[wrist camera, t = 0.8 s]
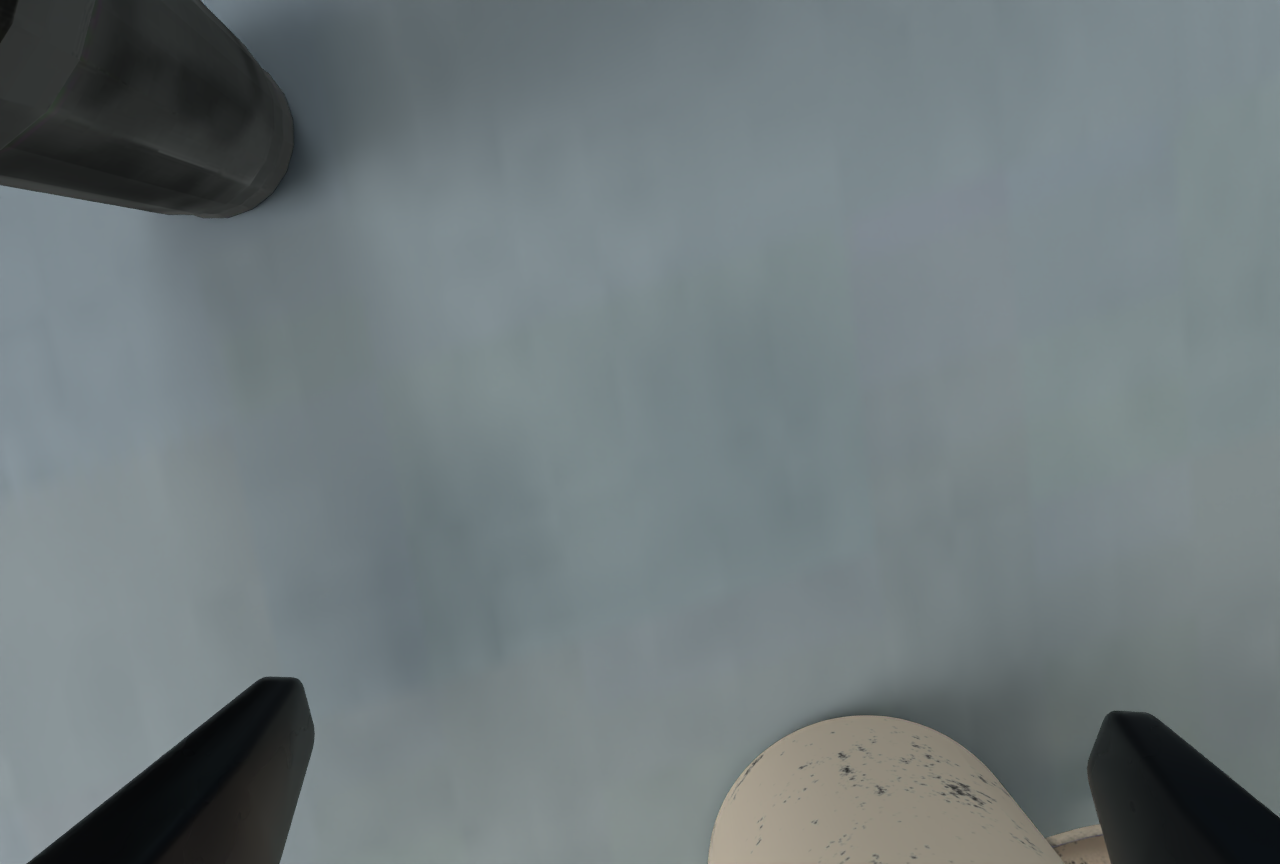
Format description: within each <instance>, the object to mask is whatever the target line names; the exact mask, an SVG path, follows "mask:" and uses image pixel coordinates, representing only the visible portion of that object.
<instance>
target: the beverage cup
mask: <svg viewBox="0 0 1280 864" xmlns="http://www.w3.org/2000/svg"><path fill="white" fill-rule="evenodd" d="M293 147H294V139H293V118H292V116H291V113H290V110H289V107H288V104H287V101H286V98H285V96H284V93H283V92H282V91H281V89H280V88H279V87H278V85H277V84H276V83H275V81H274V80H273V79H272V77H271V76H270V75H269V73H268V72H266V71H265V70H264V69H262V68H261V67H260V65H259V64H258V63H257V61H256V60H255V59H254V57H253V56H252V55H251V53H250V52H249V51H248V49H247V48H246V47H245V45H244V44H243V43H242V42H241V41H240V40H239V39H238V38H237V37H236V36H235V35H234V34H233V33H232V32H231V31H230V30H229V29H228V28H227V27H226V26H225V25H224V24H223V23H222V22H221V21H220V20H219V19H218V18H217V17H216V16H215V15H214V14H213V13H212V12H211V11H210V10H209V9H208V8H207V7H206V6H205V5H204V4H203V3H202V2H201V1H200V0H0V185H3V186H8V187H14V188H20V189H25V190H31V191H37V192H42V193H48V194H54V195H59V196H65V197H71V198H76V199H82V200H88V201H93V202H99V203H105V204H110V205H116V206H122V207H127V208H133V209H139V210H144V211H150V212H156V213H161V214H167V215H194V216H198V217H201V218H229V217H232V216H235V215H237V214H240V213H243V212H246V211H249V210H251V209H253V208H254V207H256V206H257V205H258V204H259V203H261V202H262V201H263V200H264V199H266V198H267V197H268V196H270V195H271V194H272V193H273V192H274V190H275V189H276V187H277V185H278V184H279V182H280V181H281V179H282V178H283V176H284V175H285V173H286V172H287V169H288V165H289V161H290V158H291V154H292V151H293Z"/></svg>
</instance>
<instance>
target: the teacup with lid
mask: <svg viewBox="0 0 1280 864" xmlns="http://www.w3.org/2000/svg"><path fill="white" fill-rule="evenodd" d="M708 864H1111V862H1110V859H1109V855H1108V851H1107V848H1106V844H1105V840H1104V837H1103V833H1102V829H1101V826H1100V824H1098V825H1092V826H1087V827H1083V828H1078V829H1074V830H1071V831H1067V832H1064V833H1060V834H1057V835H1054V836H1051V837H1048V838H1044V837H1043V835H1042V834H1041V833H1040V832H1039V830H1038V829H1037V828H1036V827H1035V825H1034V824H1033V823H1032V822H1031V820H1030V819H1029V818H1028V817H1027V815H1026V814H1025V813H1024V812H1023V810H1022V809H1021V808H1020V807H1019V805H1018V804H1017V803H1016V802H1015V800H1014V799H1013V798H1012V797H1011V796H1010V794H1009V793H1008V792H1007V791H1006V789H1005V788H1004V787H1003V786H1002V784H1001V783H1000V782H999V781H998V779H997V778H996V777H995V776H994V775H993V773H992V772H991V771H990V770H989V769H988V768H987V767H986V766H985V765H984V764H983V763H982V762H981V761H980V760H979V759H978V758H977V757H976V756H975V755H973V754H972V753H971V752H969V751H968V750H967V749H966V748H964V747H963V746H962V745H960V744H959V743H957V742H956V741H954V740H952V739H951V738H949V737H948V736H946V735H944V734H942V733H940V732H938V731H936V730H934V729H931V728H929V727H926V726H923V725H921V724H918V723H915V722H911V721H907V720H904V719H898V718H893V717H887V716H874V715H859V716H847V717H839V718H834V719H829V720H825V721H821V722H818V723H815V724H812V725H809V726H806V727H804V728H802V729H799V730H797V731H795V732H793V733H791V734H789V735H787V736H786V737H784V738H782V739H780V740H779V741H777V742H776V743H774V744H773V745H772V746H770V747H769V748H767V749H766V750H765V751H764V752H763V753H761V754H760V755H759V756H758V757H757V758H756V759H755V760H754V761H753V762H752V763H751V764H750V765H749V766H748V767H747V768H746V769H745V770H744V771H743V773H742V774H741V775H740V776H739V778H738V779H737V780H736V782H735V783H734V785H733V786H732V788H731V789H730V791H729V792H728V794H727V796H726V798H725V800H724V802H723V804H722V806H721V808H720V811H719V813H718V816H717V818H716V821H715V825H714V828H713V832H712V836H711V842H710V848H709V856H708Z"/></svg>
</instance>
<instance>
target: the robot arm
mask: <svg viewBox="0 0 1280 864" xmlns="http://www.w3.org/2000/svg"><path fill="white" fill-rule="evenodd" d="M314 735H315V733H314V724H313V721H312V717H311V713H310V709H309V705H308V702H307V698H306V694H305V690H304V687H303V684H302V683H301V681H300V680H299V679H297V678H292V677H264V678H262V679H260V680H258V681H256V682H255V683H254V684H252V685H251V686H250V687H249V688H247V689H246V690H245V691H244V692H242V693H241V694H240V695H239V696H237V697H236V698H235V699H234V700H232V701H231V702H230V703H228V704H227V705H226V706H225V707H223V708H222V709H221V710H220V711H218V712H217V713H216V714H215V715H213V716H212V717H211V718H210V719H208V720H207V721H206V722H205V723H203V724H202V725H201V726H200V727H198V728H197V729H196V730H194V731H193V732H192V733H191V734H189V735H188V736H187V737H186V738H184V739H183V740H182V741H181V742H179V743H178V744H177V745H176V746H174V747H173V748H172V749H171V750H169V751H168V752H167V753H166V754H164V755H163V756H162V757H160V758H159V759H158V760H157V761H155V762H154V763H153V764H152V765H150V766H149V767H148V768H147V769H145V770H144V771H143V772H142V773H140V774H139V775H138V776H137V777H135V778H134V779H133V780H132V781H130V782H129V783H128V784H126V785H125V786H124V787H123V788H121V789H120V790H119V791H118V792H116V793H115V794H114V795H113V796H111V797H110V798H109V799H108V800H106V801H105V802H104V803H103V804H101V805H100V806H99V807H98V808H96V809H95V810H94V811H92V812H91V813H90V814H89V815H87V816H86V817H85V818H84V819H82V820H81V821H80V822H79V823H77V824H76V825H75V826H74V827H72V828H71V829H70V830H69V831H67V832H66V833H65V834H64V835H62V836H61V837H60V838H58V839H57V840H56V841H55V842H53V843H52V844H51V845H50V846H48V847H47V848H46V849H45V850H43V851H42V852H41V853H40V854H38V855H37V856H36V857H35V858H33V859H32V860H31V861H30V862H28V863H27V864H279V863H280V860H281V857H282V853H283V850H284V846H285V843H286V839H287V836H288V833H289V829H290V826H291V822H292V819H293V815H294V812H295V808H296V805H297V801H298V798H299V794H300V791H301V787H302V784H303V781H304V777H305V774H306V770H307V767H308V763H309V760H310V756H311V753H312V749H313V744H314ZM1087 774H1088V781H1089V786H1090V789H1091V793H1092V797H1093V800H1094V804H1095V807H1096V811H1097V815H1098V818H1099V822H1100V826H1101V829H1102V833H1103V837H1104V840H1105V844H1106V848H1107V851H1108V855H1109V859H1110V862H1111V864H1280V818H1279V817H1278V816H1277V815H1275V814H1274V813H1273V812H1272V811H1271V810H1269V809H1268V808H1267V807H1266V806H1264V805H1263V804H1262V803H1261V802H1259V801H1258V800H1257V799H1256V798H1255V797H1253V796H1252V795H1251V794H1250V793H1248V792H1247V791H1246V790H1245V789H1244V788H1242V787H1241V786H1240V785H1239V784H1237V783H1236V782H1235V781H1234V780H1232V779H1231V778H1230V777H1229V776H1228V775H1226V774H1225V773H1224V772H1223V771H1221V770H1220V769H1219V768H1218V767H1216V766H1215V765H1214V764H1213V763H1212V762H1210V761H1209V760H1208V759H1207V758H1205V757H1204V756H1203V755H1202V754H1201V753H1199V752H1198V751H1197V750H1196V749H1194V748H1193V747H1192V746H1191V745H1189V744H1188V743H1187V742H1186V741H1185V740H1183V739H1182V738H1181V737H1180V736H1178V735H1177V734H1176V733H1175V732H1173V731H1172V730H1171V729H1170V728H1169V727H1167V726H1166V725H1165V724H1164V723H1162V722H1161V721H1160V720H1159V719H1157V718H1156V717H1155V716H1153V715H1151V714H1149V713H1146V712H1132V711H1112V712H1110V713H1109V714H1108V715H1106V717H1105V719H1104V720H1103V723H1102V726H1101V728H1100V731H1099V733H1098V736H1097V739H1096V741H1095V744H1094V746H1093V749H1092V751H1091V754H1090V757H1089V760H1088V766H1087Z"/></svg>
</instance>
